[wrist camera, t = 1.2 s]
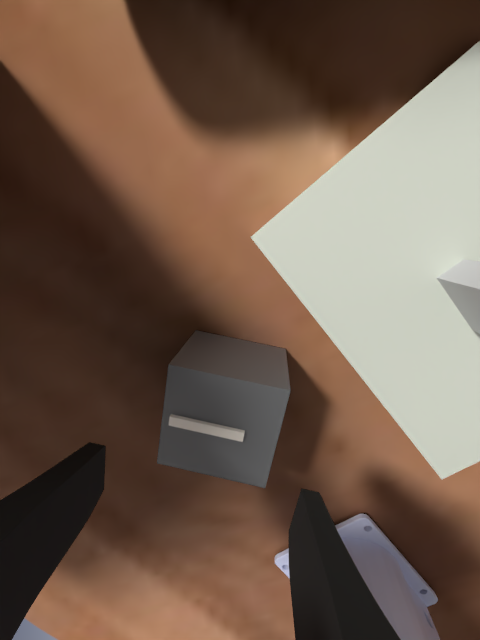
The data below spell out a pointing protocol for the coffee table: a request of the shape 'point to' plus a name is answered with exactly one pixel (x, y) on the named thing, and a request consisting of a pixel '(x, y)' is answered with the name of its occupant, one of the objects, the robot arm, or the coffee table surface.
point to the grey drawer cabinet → (224, 408)
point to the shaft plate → (402, 263)
